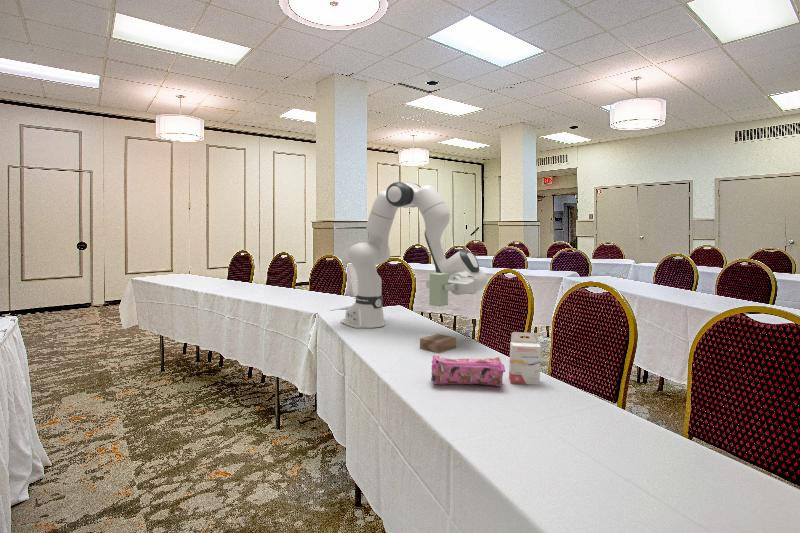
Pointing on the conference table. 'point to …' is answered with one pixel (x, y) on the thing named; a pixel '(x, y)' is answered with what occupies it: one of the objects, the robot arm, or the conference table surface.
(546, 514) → the conference table surface
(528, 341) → the ink cartridge box
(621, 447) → the conference table surface
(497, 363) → the pencil case
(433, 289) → the sage pillar block
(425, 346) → the walnut block
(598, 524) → the conference table surface
